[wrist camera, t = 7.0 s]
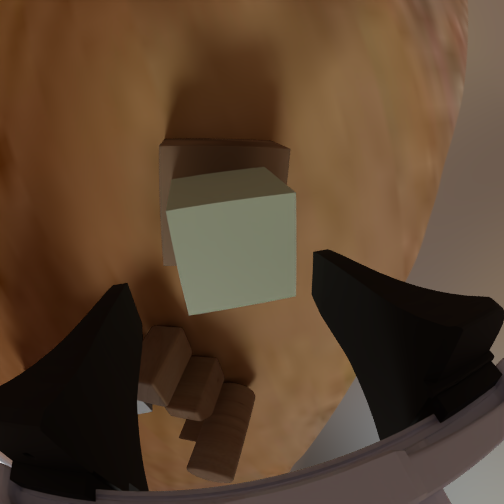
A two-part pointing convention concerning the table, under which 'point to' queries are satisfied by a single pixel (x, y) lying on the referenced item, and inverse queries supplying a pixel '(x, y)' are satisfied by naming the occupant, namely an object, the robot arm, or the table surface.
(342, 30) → the table surface
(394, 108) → the table surface
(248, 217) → the sage cube
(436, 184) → the table surface
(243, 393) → the wooden block set
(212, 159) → the walnut base
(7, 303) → the table surface
